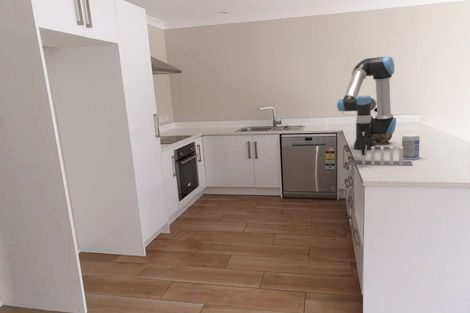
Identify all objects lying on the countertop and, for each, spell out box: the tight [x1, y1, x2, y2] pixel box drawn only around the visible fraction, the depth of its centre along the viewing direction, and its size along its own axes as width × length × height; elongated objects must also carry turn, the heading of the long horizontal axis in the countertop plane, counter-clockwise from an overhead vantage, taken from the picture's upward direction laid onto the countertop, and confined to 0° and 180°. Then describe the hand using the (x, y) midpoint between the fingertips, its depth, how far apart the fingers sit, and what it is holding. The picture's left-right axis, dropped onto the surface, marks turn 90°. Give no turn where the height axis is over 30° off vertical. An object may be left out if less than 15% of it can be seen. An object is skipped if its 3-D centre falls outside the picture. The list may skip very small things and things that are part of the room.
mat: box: [349, 159, 414, 167], centre depth 207 cm, size 13×34×1 cm, turn 67°
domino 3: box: [389, 146, 394, 165], centre depth 201 cm, size 5×2×10 cm, turn 157°
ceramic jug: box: [373, 107, 393, 145], centre depth 266 cm, size 17×15×30 cm
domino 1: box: [370, 145, 376, 166], centre depth 205 cm, size 5×2×10 cm, turn 157°
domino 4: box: [398, 145, 404, 165], centre depth 199 cm, size 5×2×10 cm, turn 157°
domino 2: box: [379, 146, 385, 166], centre depth 203 cm, size 5×2×10 cm, turn 157°
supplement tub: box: [401, 133, 420, 161], centre depth 212 cm, size 10×10×15 cm
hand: (363, 157), depth 207 cm, fingers open, 13 cm apart
